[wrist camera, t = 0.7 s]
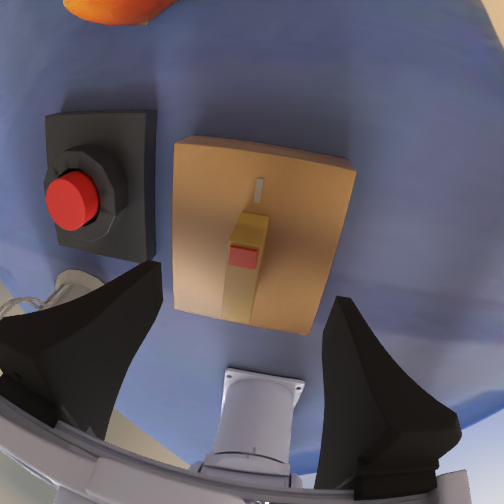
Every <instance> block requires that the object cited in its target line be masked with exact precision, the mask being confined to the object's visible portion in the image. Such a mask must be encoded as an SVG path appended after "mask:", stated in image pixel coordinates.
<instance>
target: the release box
mask: <svg viewBox="0 0 504 504" xmlns="http://www.w3.org/2000/svg"><path fill="white" fill-rule="evenodd" d="M45 122H46V149H47V163H48V170H47V174H46V177H45V181H44V188H45V196H46V193H47V189H48V187H49V185H50V184H51V183H52V182H53V181H54V180H56V179H58V178H60V177H62V176H64V175H65V174H67V173H69V172H72V171H80V172H83V173H85V174H87V175H88V176H89V177H90V178H91V179H92V180H93V182H94V183H95V185H96V187H97V189H98V193H99V198H100V203H99V209H98V211H97V213H96V215H95V216H94V217H93V218H91V219H90V220H89V221H88V222H86V223H85V224H84V225H82V226H81V227H80V228H78V229H76V230H72V231H70V230H65V229H63V228H62V227H60V226H59V225H58V224H57V223H56V222H55V226H56V232H57V237H58V242H59V245H62V246H66V247H70V248H75V249H79V250H83V251H87V252H91V253H96V254H100V255H104V256H109V257H113V258H117V259H122V260H126V261H131V262H135V263H140V264H141V263H143V262H145V261H147V260H152V259H153V257H154V256H155V255H156V241H155V145H156V123H157V110H95V111H76V112H62V113H56V114H52V115H48V116H46V117H45Z"/></svg>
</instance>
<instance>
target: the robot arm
mask: <svg viewBox="0 0 504 504" xmlns="http://www.w3.org/2000/svg"><path fill="white" fill-rule="evenodd" d="M162 302H163V291H162V273H161V263H160V262H156V261H151V260H147V261H145V262H143V263H141V264H139V265H138V266H136V267H134V268H132V269H131V270H129V271H127V272H126V273H124V274H122V275H121V276H119V277H117V278H116V279H114V280H112V281H110V282H108V283H107V284H105V285H103V286H101V287H99V288H97V289H95V290H94V291H92V292H89V293H87V294H85V295H83V296H81V297H78V298H76V299H74V300H71V301H69V302H66V303H63V304H60V305H57V306H54V307H51V308H48V309H44V310H40V311H36V312H32V313H27V314H22V315H15V316H9V317H3V318H2V319H1V320H0V369H1V371H2V372H3V374H2V376H1V377H0V450H1V451H2V452H3V453H4V454H6V455H7V456H8V457H10V458H11V459H12V460H14V461H15V462H16V463H18V464H19V465H20V466H22V467H23V468H25V469H26V470H27V471H29V472H30V473H32V474H33V475H35V476H37V477H38V478H40V479H41V480H43V481H44V482H46V483H48V484H49V485H51V486H52V487H54V488H56V489H57V490H58V492H57V494H56V496H55V499H54V501H53V503H52V504H471V496H470V489H469V483H468V476H467V471H466V470H465V469H464V470H460V471H455V472H450V473H445V474H442V475H439V476H437V477H436V473H435V470H436V469H438V468H439V461H438V459H439V458H440V457H442V456H443V455H444V454H446V453H447V452H448V451H450V450H451V449H452V448H453V447H454V446H456V445H457V444H458V442H459V441H460V439H461V437H462V432H461V428H460V424H459V420H458V417H457V414H456V413H455V412H454V411H452V410H451V409H449V408H448V407H446V406H445V405H443V404H442V403H440V402H439V401H437V400H436V399H435V398H433V397H432V396H431V395H430V394H428V393H427V392H426V391H425V390H423V389H422V388H421V387H420V386H419V385H418V384H417V383H415V382H414V381H413V380H412V379H411V378H410V377H409V376H408V375H407V374H406V373H405V372H404V371H403V370H402V369H401V368H400V366H399V365H398V364H397V363H396V362H395V361H394V360H393V359H392V357H391V356H390V355H389V354H388V352H387V351H386V350H385V349H384V347H383V346H382V345H381V343H380V342H379V341H378V339H377V338H376V336H375V335H374V333H373V332H372V330H371V329H370V327H369V326H368V324H367V323H366V321H365V320H364V318H363V317H362V315H361V313H360V312H359V310H358V309H357V307H356V305H355V304H354V302H353V301H352V299H351V298H347V297H341V296H336V298H335V301H334V304H333V307H332V309H331V312H330V315H329V318H328V320H327V323H326V325H325V328H324V331H323V339H322V366H323V381H324V398H325V409H324V422H323V433H322V442H321V450H320V457H319V463H318V469H317V475H316V480H315V485H314V489H303V488H302V480H301V479H300V478H299V477H298V475H297V474H296V473H290V464H288V460H289V450H290V440H291V428H292V416H293V410H294V408H295V406H296V404H297V401H298V399H299V397H300V395H301V393H302V391H303V389H304V386H305V382H304V381H303V380H297V379H290V378H283V377H277V376H271V375H265V374H259V373H254V372H248V371H243V370H238V369H233V368H227V369H226V371H225V378H224V388H223V398H222V408H221V417H220V421H219V425H218V429H217V432H216V436H215V440H214V444H213V448H212V452H211V454H206V457H205V461H204V462H202V461H198V462H196V463H195V464H194V465H192V466H191V467H190V468H189V469H188V470H186V469H183V468H179V467H175V466H172V465H169V464H165V463H162V462H159V461H156V460H153V459H149V458H147V457H143V456H141V455H138V454H135V453H132V452H130V451H127V450H124V449H122V448H119V447H117V446H114V445H112V444H109V443H107V442H104V439H105V435H106V432H107V427H108V424H109V420H110V417H111V414H112V410H113V407H114V404H115V401H116V398H117V396H118V393H119V390H120V387H121V385H122V382H123V380H124V377H125V375H126V372H127V370H128V367H129V365H130V363H131V361H132V359H133V358H134V356H135V354H136V352H137V351H138V349H139V347H140V345H141V344H142V342H143V340H144V339H145V337H146V335H147V333H148V332H149V330H150V328H151V327H152V325H153V323H154V321H155V319H156V317H157V315H158V312H159V310H160V307H161V305H162ZM289 474H290V475H289Z"/></svg>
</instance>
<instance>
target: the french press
mask: <svg viewBox="0 0 504 504" xmlns="http://www.w3.org/2000/svg"><path fill="white" fill-rule="evenodd" d="M103 285H105V284H104V283H102V282H101V281H100V280H99V279H98V278H96V277H94V276H92V275H90V274H88V273H86V272H84V271H82V270H70V269H68V270H66V271H64V272H62V273H60V274H59V275H58V277H57V280H56V283H55V292H54V293H53V294H52V295H51V296H50V297H49V298H48V299H47V300H46V301H45V302H44V303H43V302H42V301H40V300H39V299H36V298H32V297H25V298H16V299H12V300H10V301H8V302H6V303H5V304H3V305H2V306H1V307H0V311H1V310H2V309H3V308H4V307H5V306H7V305H8V304H10V303H11V305H9V307H8V308H7V309H6V310H5V311H4V312H3V313H2V314H1V316H0V320H1V319H2V318H3V317H4V315H5V314H6V313H7V312H8V311H9V310H10V309H11V308H12V307H13V306H14V305H15V304H17V303H19V302H23V301H24V302H28V303H29V304H31V305H32V306H34V307H35V308H39V310H38V311H40V310H43V309H47V308H51V307H54V306H57V305H60V304H63V303H66V302H69V301H71V300H74V299H76V298H78V297H81V296H83V295H85V294H87V293H89V292H92V291H94V290H95V289H97V288H99V287H101V286H103ZM30 300H33V301H37V302H38V303H40V304H41V306H38V305H36V304H35V303H33V302H32V301H30ZM50 302H51V303H50ZM49 303H50V305H48V304H49Z"/></svg>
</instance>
